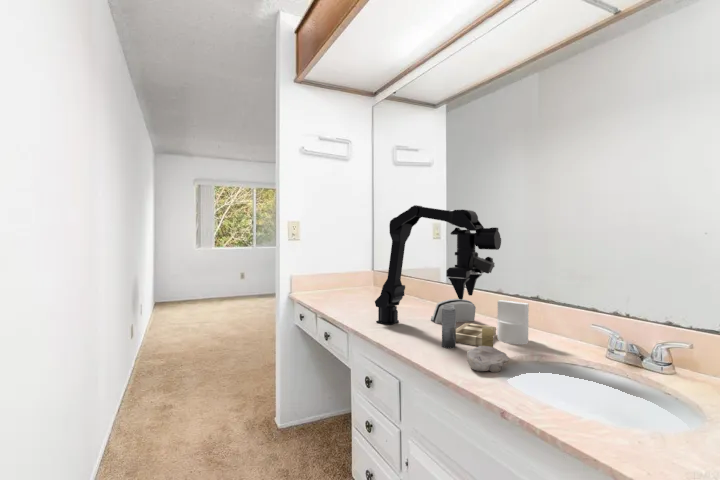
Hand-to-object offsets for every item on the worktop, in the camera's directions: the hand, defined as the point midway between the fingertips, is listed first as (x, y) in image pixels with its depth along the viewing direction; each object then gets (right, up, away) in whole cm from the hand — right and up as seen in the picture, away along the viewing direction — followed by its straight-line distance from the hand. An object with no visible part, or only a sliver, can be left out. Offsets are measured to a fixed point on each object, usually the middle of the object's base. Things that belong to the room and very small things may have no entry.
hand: (465, 297), depth 117 cm
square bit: (+2, -13, -15) cm, 20 cm away
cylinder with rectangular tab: (+14, -13, -2) cm, 20 cm away
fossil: (-2, -14, -26) cm, 30 cm away
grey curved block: (+2, -13, +22) cm, 26 cm away
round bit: (-8, -13, -9) cm, 18 cm away
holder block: (+3, -13, 0) cm, 13 cm away
